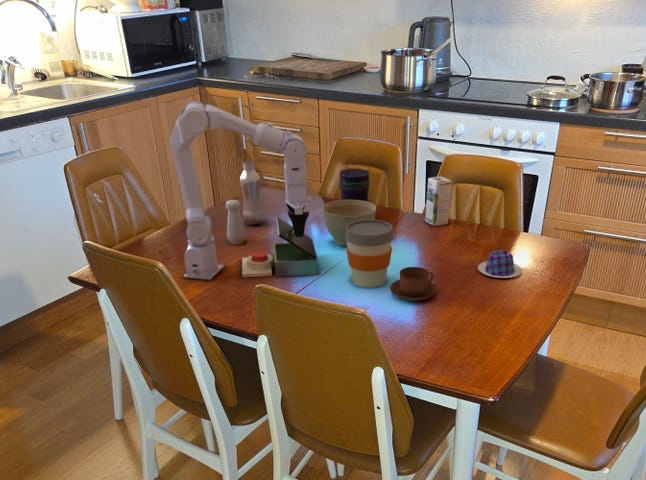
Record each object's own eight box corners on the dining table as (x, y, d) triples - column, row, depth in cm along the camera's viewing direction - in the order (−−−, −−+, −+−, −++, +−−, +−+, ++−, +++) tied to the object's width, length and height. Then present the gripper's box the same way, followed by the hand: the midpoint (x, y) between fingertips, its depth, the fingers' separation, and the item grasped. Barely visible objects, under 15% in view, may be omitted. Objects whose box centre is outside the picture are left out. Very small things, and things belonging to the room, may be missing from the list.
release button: (252, 263, 178) (251, 257, 177) (251, 257, 182) (251, 251, 181) (267, 262, 179) (267, 256, 178) (267, 256, 182) (266, 250, 181)
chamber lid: (278, 236, 170) (286, 223, 169) (275, 218, 182) (283, 206, 181) (316, 259, 175) (324, 247, 174) (311, 240, 187) (319, 229, 186)
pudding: (506, 260, 185) (508, 243, 182) (530, 276, 175) (533, 258, 172) (469, 266, 181) (471, 249, 178) (492, 283, 171) (494, 264, 169)
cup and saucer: (407, 281, 173) (408, 259, 170) (445, 292, 166) (447, 270, 163) (380, 296, 165) (381, 274, 162) (419, 309, 159) (420, 286, 155)
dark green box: (275, 277, 176) (274, 262, 174) (273, 257, 188) (272, 243, 186) (317, 274, 177) (316, 259, 175) (312, 254, 189) (311, 241, 187)
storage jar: (374, 215, 219) (374, 171, 212) (359, 223, 212) (359, 178, 205) (349, 210, 224) (349, 167, 216) (334, 218, 217) (333, 173, 209)
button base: (242, 277, 176) (241, 268, 174) (242, 260, 186) (241, 251, 184) (274, 275, 177) (273, 266, 175) (272, 258, 187) (271, 249, 185)
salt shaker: (248, 239, 201) (244, 198, 194) (244, 245, 196) (239, 204, 189) (230, 238, 201) (225, 197, 195) (225, 245, 196) (220, 203, 190)
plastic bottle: (240, 226, 211) (234, 164, 201) (249, 219, 216) (243, 159, 206) (258, 227, 209) (253, 165, 199) (266, 221, 215) (262, 160, 204)
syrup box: (424, 221, 214) (426, 177, 206) (439, 218, 216) (442, 175, 208) (433, 226, 209) (436, 182, 202) (448, 224, 211) (452, 180, 204)
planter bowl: (384, 246, 194) (385, 211, 189) (334, 254, 189) (333, 218, 184) (363, 229, 207) (364, 196, 202) (316, 236, 202) (315, 202, 196)
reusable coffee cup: (352, 292, 167) (352, 238, 159) (340, 274, 177) (339, 221, 169) (398, 287, 170) (400, 232, 162) (383, 269, 180) (384, 217, 172)
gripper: (313, 189, 165) (315, 240, 172) (308, 174, 177) (310, 222, 184) (285, 191, 164) (288, 241, 171) (282, 175, 176) (285, 223, 183)
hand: (298, 231), depth 178 cm, fingers open, 7 cm apart
